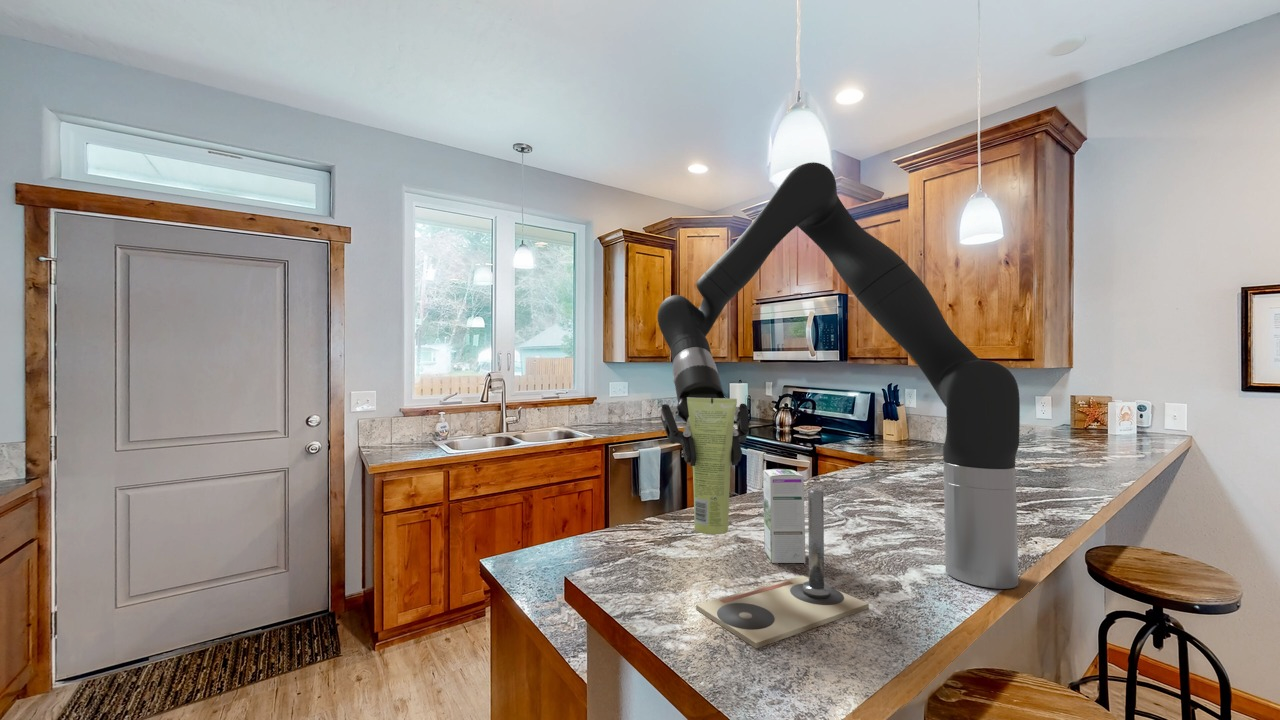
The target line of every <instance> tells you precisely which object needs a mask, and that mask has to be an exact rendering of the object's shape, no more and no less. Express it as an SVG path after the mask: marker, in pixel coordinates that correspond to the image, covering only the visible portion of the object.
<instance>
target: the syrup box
mask: <svg viewBox="0 0 1280 720" xmlns="http://www.w3.org/2000/svg"><path fill="white" fill-rule="evenodd" d="M762 473H763V474H762V475H763V478H762V479H763V485H762V487H763V534H764V535H763V538H764V539H763V540H764V541H763V543H764V547H763V548H764V553H765V554H766V556H767V558H768V559H769V561H770V562H771V564H778V563H804V564H803V565H805V564H806V524H805V520H806V519H805V517H806V516H805V515H806V514H805V513H806V512H805V482H804V481H805V479H804V475H802V474H801V473H799V472H798V471H796V470H794V469H787V468H772V469H763V472H762Z"/></svg>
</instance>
